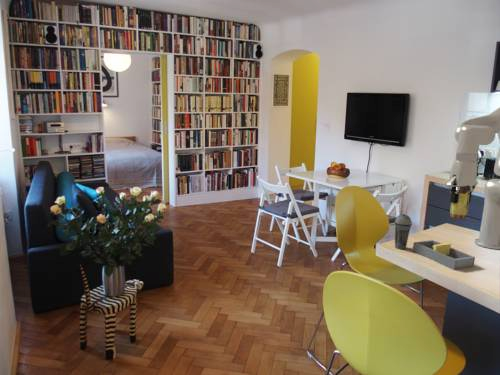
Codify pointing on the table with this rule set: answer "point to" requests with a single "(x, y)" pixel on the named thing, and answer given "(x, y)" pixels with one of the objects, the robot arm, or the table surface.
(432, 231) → the table surface
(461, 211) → the sauce bottle
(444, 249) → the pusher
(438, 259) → the grey tray
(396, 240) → the beverage cup
